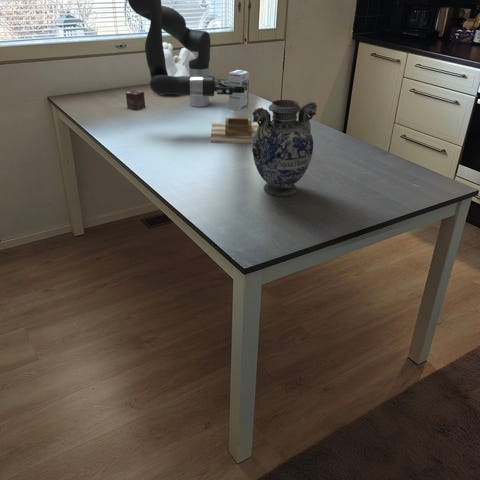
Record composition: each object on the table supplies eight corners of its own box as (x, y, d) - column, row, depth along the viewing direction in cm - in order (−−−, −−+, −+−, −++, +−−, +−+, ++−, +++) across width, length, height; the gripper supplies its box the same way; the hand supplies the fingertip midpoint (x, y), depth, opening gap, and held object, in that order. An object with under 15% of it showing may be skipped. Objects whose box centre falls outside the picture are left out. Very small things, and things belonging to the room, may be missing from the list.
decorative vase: (262, 206, 158) (266, 114, 145) (238, 183, 173) (239, 98, 159) (324, 196, 166) (333, 107, 152) (295, 175, 181) (301, 92, 167)
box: (145, 107, 246) (144, 91, 243) (136, 110, 242) (135, 94, 238) (135, 105, 249) (134, 89, 245) (126, 108, 245) (125, 92, 241)
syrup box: (240, 111, 207) (242, 73, 200) (228, 108, 210) (229, 71, 203) (248, 108, 212) (249, 71, 204) (235, 105, 214) (236, 69, 207)
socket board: (212, 125, 225) (212, 113, 223) (263, 125, 226) (264, 114, 223) (210, 142, 206) (210, 130, 204) (266, 143, 207) (267, 131, 204)
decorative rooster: (159, 99, 259) (156, 46, 246) (149, 91, 271) (146, 40, 259) (206, 94, 269) (206, 42, 256) (194, 87, 281) (193, 37, 269)
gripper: (201, 80, 198) (244, 81, 199) (203, 72, 210) (244, 73, 211) (201, 100, 202) (244, 101, 202) (203, 91, 214) (243, 92, 215)
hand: (243, 87), depth 207 cm, fingers closed on syrup box, 7 cm apart
